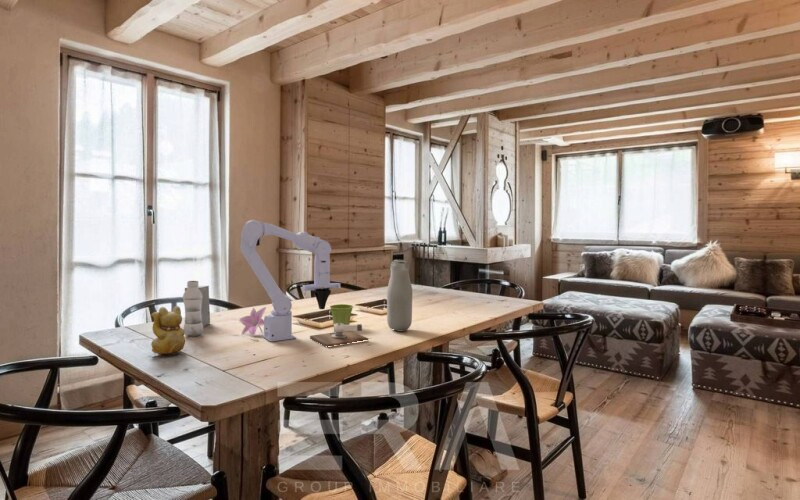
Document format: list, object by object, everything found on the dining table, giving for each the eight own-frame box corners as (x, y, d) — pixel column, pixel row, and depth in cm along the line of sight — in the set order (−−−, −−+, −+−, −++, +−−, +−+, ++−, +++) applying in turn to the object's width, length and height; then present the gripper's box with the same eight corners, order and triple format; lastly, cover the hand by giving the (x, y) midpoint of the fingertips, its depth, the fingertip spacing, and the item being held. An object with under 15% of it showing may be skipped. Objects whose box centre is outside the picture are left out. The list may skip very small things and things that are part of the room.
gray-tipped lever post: (362, 331, 166) (362, 324, 166) (334, 332, 164) (334, 324, 164) (361, 329, 169) (361, 321, 169) (333, 330, 167) (333, 322, 167)
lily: (239, 333, 178) (230, 314, 173) (267, 319, 183) (260, 300, 178) (249, 349, 169) (241, 330, 164) (279, 334, 175) (272, 314, 170)
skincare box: (202, 328, 181) (201, 287, 180) (183, 327, 181) (183, 287, 180) (211, 323, 190) (210, 284, 189) (193, 322, 190) (193, 284, 189)
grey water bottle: (412, 328, 187) (413, 258, 185) (410, 334, 177) (411, 261, 175) (388, 327, 188) (389, 258, 186) (384, 333, 178) (385, 260, 176)
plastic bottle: (196, 338, 165) (195, 282, 164) (179, 337, 166) (178, 282, 165) (207, 334, 171) (206, 280, 170) (190, 333, 173) (190, 279, 171)
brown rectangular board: (327, 347, 156) (327, 339, 156) (310, 339, 167) (310, 330, 167) (368, 341, 165) (368, 333, 165) (349, 333, 176) (349, 325, 176)
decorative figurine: (179, 348, 152) (178, 303, 151) (191, 353, 147) (191, 306, 146) (148, 355, 144) (147, 307, 143) (159, 360, 139) (159, 311, 138)
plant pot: (341, 331, 179) (341, 309, 179) (324, 328, 185) (324, 306, 184) (358, 327, 187) (358, 306, 186) (341, 324, 192) (341, 303, 192)
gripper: (308, 274, 164) (308, 312, 165) (344, 272, 173) (344, 308, 173) (300, 272, 170) (300, 309, 171) (335, 270, 178) (335, 305, 179)
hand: (321, 308), depth 172 cm, fingers closed
